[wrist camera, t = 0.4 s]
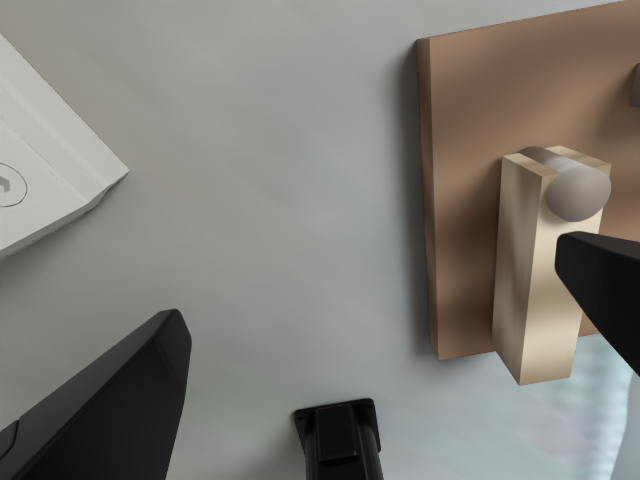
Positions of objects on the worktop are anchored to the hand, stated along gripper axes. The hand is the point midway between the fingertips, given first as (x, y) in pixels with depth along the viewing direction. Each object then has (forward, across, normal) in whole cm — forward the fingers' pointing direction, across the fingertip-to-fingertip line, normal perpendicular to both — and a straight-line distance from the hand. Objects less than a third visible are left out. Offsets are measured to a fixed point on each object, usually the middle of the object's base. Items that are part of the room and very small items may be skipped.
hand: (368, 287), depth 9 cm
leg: (+12, -10, +8) cm, 17 cm away
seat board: (+14, -16, +5) cm, 22 cm away
